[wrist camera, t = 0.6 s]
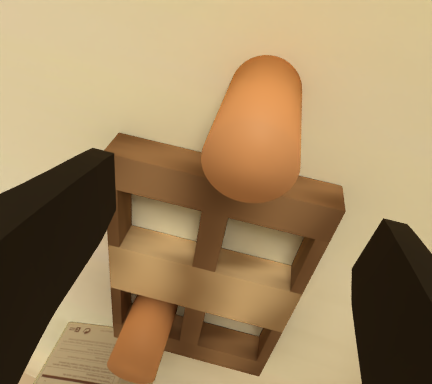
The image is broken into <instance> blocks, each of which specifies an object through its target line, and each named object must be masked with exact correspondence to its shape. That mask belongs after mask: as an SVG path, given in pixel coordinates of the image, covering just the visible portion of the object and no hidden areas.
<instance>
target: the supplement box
mask: <svg viewBox="0 0 432 384" xmlns="http://www.w3.org/2000/svg"><path fill="white" fill-rule="evenodd" d="M117 339H118V338H116V337H114V331H113V327H109V326H101V325H93V324H84V323H76V322H69V323H68V324H67V326H66V328H65V330H64V331H63V333H62V335H61V337H60V338H59V340H58V342H57V343H56V345H55V347H54V349H53V350H52V352H51V354H50V356H49V357H48V359H47V361H46V363H45V364H44V366H43V368H42V369H41V371H40V373H39V375H38V376H37V378H36V380H35V382H34V383H33V384H138V383H133V382H129V381H126V380H124V379H121V378H119V377H118V376H116V375H114V374H113V373H112V372H111V371H110V370H109V369H108V367H107V362H108V360H109V357H110V355H111V353H112V351H113V348H114V346H115V344H116V341H117ZM152 383H153V382H151V383H148V384H152Z"/></svg>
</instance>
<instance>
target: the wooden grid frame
mask: <svg viewBox="0 0 432 384" xmlns="http://www.w3.org/2000/svg"><path fill="white" fill-rule="evenodd" d="M104 151H107V152H112V153H114V160H115V187H116V211H115V213H114V215H113V218H112V220H111V222H110V224H109V226H108V228H107V234H108V250H109V266H110V282H111V299H112V315H113V331H114V337H116V338H118V337H119V334H120V332H121V330H122V328H123V325H124V323H125V321H126V318H127V316H128V314H129V312H130V309H131V307H132V305H133V303H131V293H134V294H138V295H142V296H145V297H149V298H153V299H157V300H161V301H164V302H168V303H172V304H176V305H179V306H183V307H185V312H184V317H183V316H179V315H175V317H174V321H173V324H172V327H171V330H170V333H169V336H168V339H167V342H166V346H165V349H164V351H167V352H171V353H175V354H178V355H182V356H186V357H189V358H193V359H197V360H200V361H204V362H208V363H211V364H215V365H219V366H222V367H226V368H230V369H233V370H237V371H241V372H245V373H248V374H252V375H256V376H260V374H261V372H262V370H263V368H264V366H265V364H266V362H267V360H268V358H269V357H270V355H271V353H272V351H273V349H274V347H275V345H276V343H277V341H278V339H279V337H280V336H281V334H282V332H283V330H284V328H285V326H286V324H287V322H288V320H289V318H290V317H291V315H292V313H293V311H294V309H295V307H296V305H297V303H298V301H299V299H300V297H301V296H302V294H303V292H304V290H305V288H306V286H307V284H308V282H309V280H310V278H311V276H312V275H313V273H314V271H315V269H316V267H317V265H318V263H319V261H320V259H321V257H322V255H323V254H324V252H325V250H326V248H327V246H328V244H329V242H330V240H331V238H332V236H333V234H334V233H335V231H336V229H337V227H338V225H339V223H340V221H341V219H342V217H343V215H344V213H345V204H344V196H343V188H342V186H339V185H335V184H331V183H327V182H323V181H318V180H314V179H310V178H306V177H302V176H298V178H297V180H296V182H295V184H294V185H293V186H292V188H291V189H290V190H289V191H288V192H286V193H285V194H284V195H282V196H281V197H279V198H277V199H274V200H271V201H268V202H264V203H245V202H240V201H236V200H233V199H231V198H229V197H227V196H225V195H223V194H222V193H220V192H219V191H218V190H216V189H215V188H214V187H213V186H212V185H211V184H210V182H209V181H208V179H207V178H206V176H205V174H204V171H203V168H202V164H201V152H197V151H193V150H189V149H185V148H181V147H176V146H172V145H168V144H164V143H160V142H155V141H151V140H147V139H143V138H139V137H135V136H130V135H126V134H122V133H118V134H117V136H116V137H115V138H114V139H113V140H112V142H111V143H110V144H109V145H108V146H107V148H106V149H105V150H104ZM131 194H135V195H139V196H143V197H147V198H151V199H155V200H159V201H163V202H167V203H171V204H175V205H179V206H183V207H187V208H191V209H195V210H199V211H202V213H201V219H200V225H199V231H198V236H197V242H195V241H191V240H188V239H184V238H180V237H176V236H172V235H168V234H164V233H160V232H156V231H152V230H148V229H144V228H140V227H136V226H132V225H131ZM228 218H232V219H236V220H240V221H244V222H248V223H252V224H256V225H260V226H264V227H268V228H272V229H276V230H280V231H284V232H288V233H292V234H296V235H300V236H304V239H303V241H302V243H301V246H300V248H299V250H298V252H297V254H296V257H295V259H294V261H293V263H292V265H291V266H290V265H286V264H282V263H278V262H274V261H270V260H266V259H262V258H259V257H255V256H251V255H247V254H243V253H239V252H235V251H231V250H227V249H223V248H221V246H222V242H223V237H224V233H225V229H226V225H227V221H228ZM205 312H206V313H210V314H214V315H217V316H221V317H225V318H229V319H232V320H236V321H240V322H244V323H248V324H251V325H255V326H259V327H263V330H262V332H261V334H260V336H259V337H258V336H254V335H250V334H247V333H243V332H239V331H235V330H231V329H228V328H224V327H220V326H216V325H213V324H209V323H205V322H203V321H204V316H205Z"/></svg>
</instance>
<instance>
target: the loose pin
mask: <svg viewBox="0 0 432 384" xmlns="http://www.w3.org/2000/svg"><path fill="white" fill-rule="evenodd" d="M301 114H302V84H301V80H300V77H299V75H298V73H297V71H296V70H295V68H294V67H293V66H292V65H291V64H290V63H288V62H287V61H285V60H284V59H282V58H279V57H276V56H271V55H262V56H257V57H254V58H251V59H249V60H247V61H246V62H244V63H243V64H242V65H241V66H240V67H239V68H238V69H237V71H236V72H235V74H234V76H233V78H232V81H231V83H230V85H229V88H228V90H227V92H226V95H225V97H224V99H223V102H222V104H221V106H220V109H219V111H218V113H217V116H216V118H215V120H214V123H213V125H212V127H211V130H210V132H209V134H208V137H207V139H206V141H205V144H204V146H203V149H202V153H201V164H202V168H203V171H204V174H205V176H206V178H207V179H208V181H209V182H210V184H211V185H212V186H213V187H214V188H215V189H216V190H218V191H219V192H220V193H222V194H223V195H225V196H227V197H229V198H231V199H233V200H236V201H240V202H245V203H264V202H268V201H271V200H274V199H277V198H279V197H281V196H282V195H284V194H285V193H286V192H288V191H289V190H290V189H291V188H292V186H293V185H294V184H295V182H296V180H297V178H298V175H299V172H300V159H301Z"/></svg>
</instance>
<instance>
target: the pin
mask: <svg viewBox="0 0 432 384" xmlns="http://www.w3.org/2000/svg"><path fill="white" fill-rule="evenodd" d="M177 308H178V305H176V304H172V303H168V302H164V301H161V300H157V299H153V298H149V297H145V296H142V295H138V294H137V296H136V298H135V300H134V302H133V305H132V307H131V309H130V312H129V314H128V316H127V318H126V321H125V323H124V325H123V328H122V330H121V332H120V334H119V337H118V339H117V341H116V344H115V346H114V348H113V351H112V353H111V355H110V357H109V360H108V362H107V367H108V369H109V370H110V371H111V372H112V373H113V374H114V375H116V376H118V377H119V378H121V379H124V380H126V381H129V382H133V383H138V384H148V383H151V382H153V381H154V380H155V377H156V374H157V370H158V367H159V364H160V361H161V358H162V355H163V352H164V349H165V346H166V342H167V339H168V336H169V333H170V330H171V327H172V324H173V321H174V317H175V314H176V311H177Z"/></svg>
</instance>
